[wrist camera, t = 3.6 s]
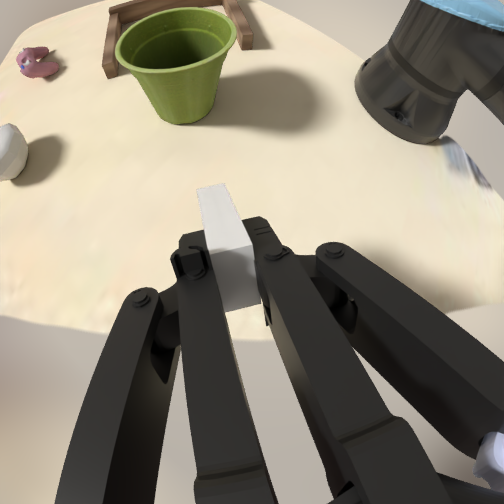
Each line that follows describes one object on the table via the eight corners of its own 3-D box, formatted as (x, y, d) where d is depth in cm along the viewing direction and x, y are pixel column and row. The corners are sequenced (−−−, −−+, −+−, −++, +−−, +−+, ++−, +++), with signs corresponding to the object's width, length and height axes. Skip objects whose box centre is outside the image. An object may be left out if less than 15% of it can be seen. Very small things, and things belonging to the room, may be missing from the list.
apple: (-2, 203, 29) (-31, 184, 22) (-3, 159, 30) (-27, 139, 23) (40, 173, 30) (13, 149, 23) (36, 131, 31) (14, 106, 25)
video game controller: (36, 67, 36) (9, 58, 29) (50, 48, 35) (23, 36, 28) (47, 89, 35) (16, 79, 28) (62, 66, 33) (31, 54, 27)
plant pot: (214, 152, 32) (209, 81, 21) (123, 131, 32) (92, 68, 21) (246, 81, 34) (252, 13, 23) (164, 67, 34) (152, 4, 23)
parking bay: (251, 49, 36) (254, 24, 31) (107, 79, 33) (98, 56, 29) (229, 0, 39) (229, -20, 34) (114, 23, 37) (108, 4, 32)
